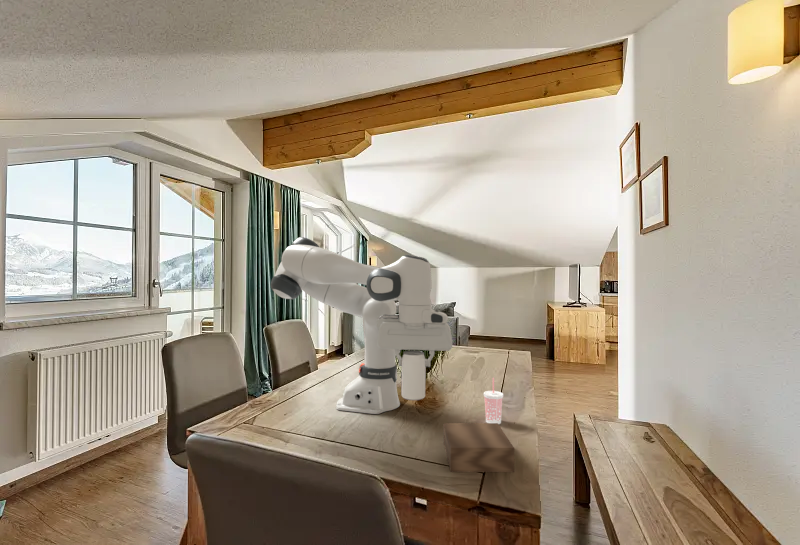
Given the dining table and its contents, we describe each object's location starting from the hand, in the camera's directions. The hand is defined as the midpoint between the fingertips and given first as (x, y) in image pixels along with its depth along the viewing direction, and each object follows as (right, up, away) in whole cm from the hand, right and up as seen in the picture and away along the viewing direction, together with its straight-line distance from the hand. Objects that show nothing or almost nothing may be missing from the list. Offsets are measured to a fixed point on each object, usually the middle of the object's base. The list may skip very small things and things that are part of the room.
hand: (414, 366), depth 103 cm
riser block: (+16, -22, -6) cm, 28 cm away
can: (0, -9, 0) cm, 9 cm away
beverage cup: (+26, -22, +18) cm, 38 cm away
